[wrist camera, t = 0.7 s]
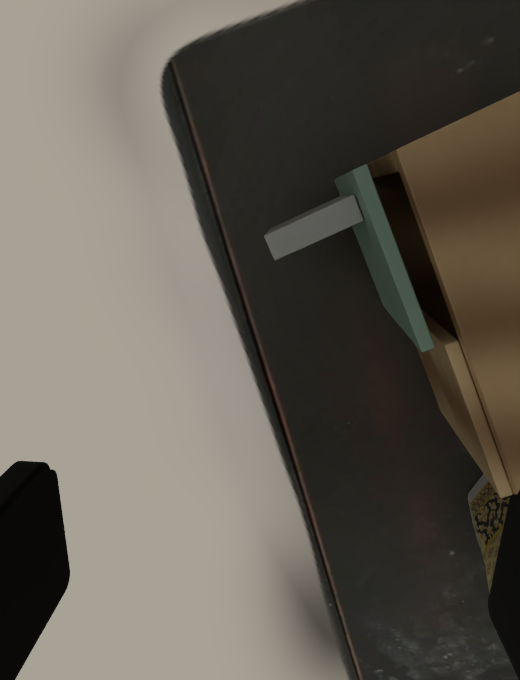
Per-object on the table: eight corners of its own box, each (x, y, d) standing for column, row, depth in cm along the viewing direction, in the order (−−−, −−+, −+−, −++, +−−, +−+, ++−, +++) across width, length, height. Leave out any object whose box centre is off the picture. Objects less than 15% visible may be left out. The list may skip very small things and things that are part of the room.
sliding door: (265, 212, 27) (251, 217, 19) (343, 174, 26) (367, 163, 18) (318, 334, 29) (327, 389, 20) (393, 303, 28) (435, 348, 20)
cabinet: (347, 173, 27) (379, 157, 17) (514, 94, 25) (664, 22, 15) (437, 406, 31) (508, 510, 20) (588, 352, 29) (747, 435, 19)
